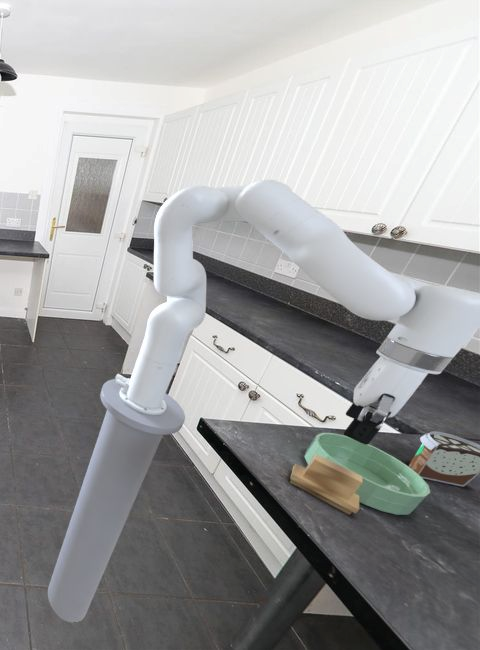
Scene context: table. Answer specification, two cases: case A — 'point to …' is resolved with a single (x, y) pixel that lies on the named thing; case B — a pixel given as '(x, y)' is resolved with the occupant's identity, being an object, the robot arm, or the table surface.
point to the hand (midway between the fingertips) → (355, 428)
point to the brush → (329, 483)
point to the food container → (447, 459)
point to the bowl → (373, 473)
